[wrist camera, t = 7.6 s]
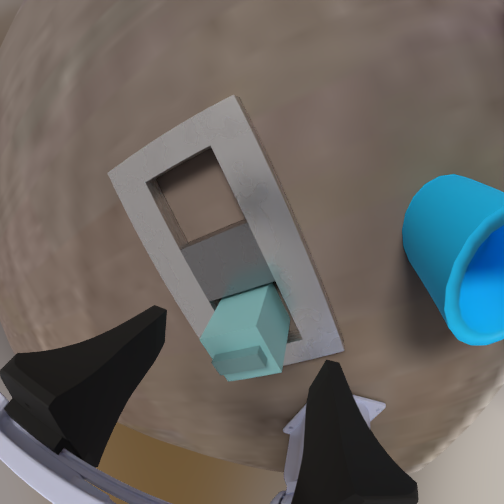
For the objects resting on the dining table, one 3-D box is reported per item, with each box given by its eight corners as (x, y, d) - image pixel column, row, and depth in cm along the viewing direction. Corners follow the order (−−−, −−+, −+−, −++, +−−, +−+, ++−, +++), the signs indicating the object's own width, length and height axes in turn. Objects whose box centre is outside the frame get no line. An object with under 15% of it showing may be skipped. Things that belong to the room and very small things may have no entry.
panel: (343, 338, 23) (344, 350, 21) (229, 365, 26) (225, 376, 25) (239, 97, 17) (233, 94, 16) (118, 169, 21) (107, 173, 19)
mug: (385, 264, 20) (416, 334, 12) (422, 156, 16) (484, 175, 9) (493, 297, 18) (536, 356, 11) (529, 213, 15) (590, 251, 8)
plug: (290, 319, 23) (280, 381, 17) (246, 330, 24) (225, 389, 18) (270, 277, 22) (253, 334, 16) (224, 292, 23) (195, 347, 17)
